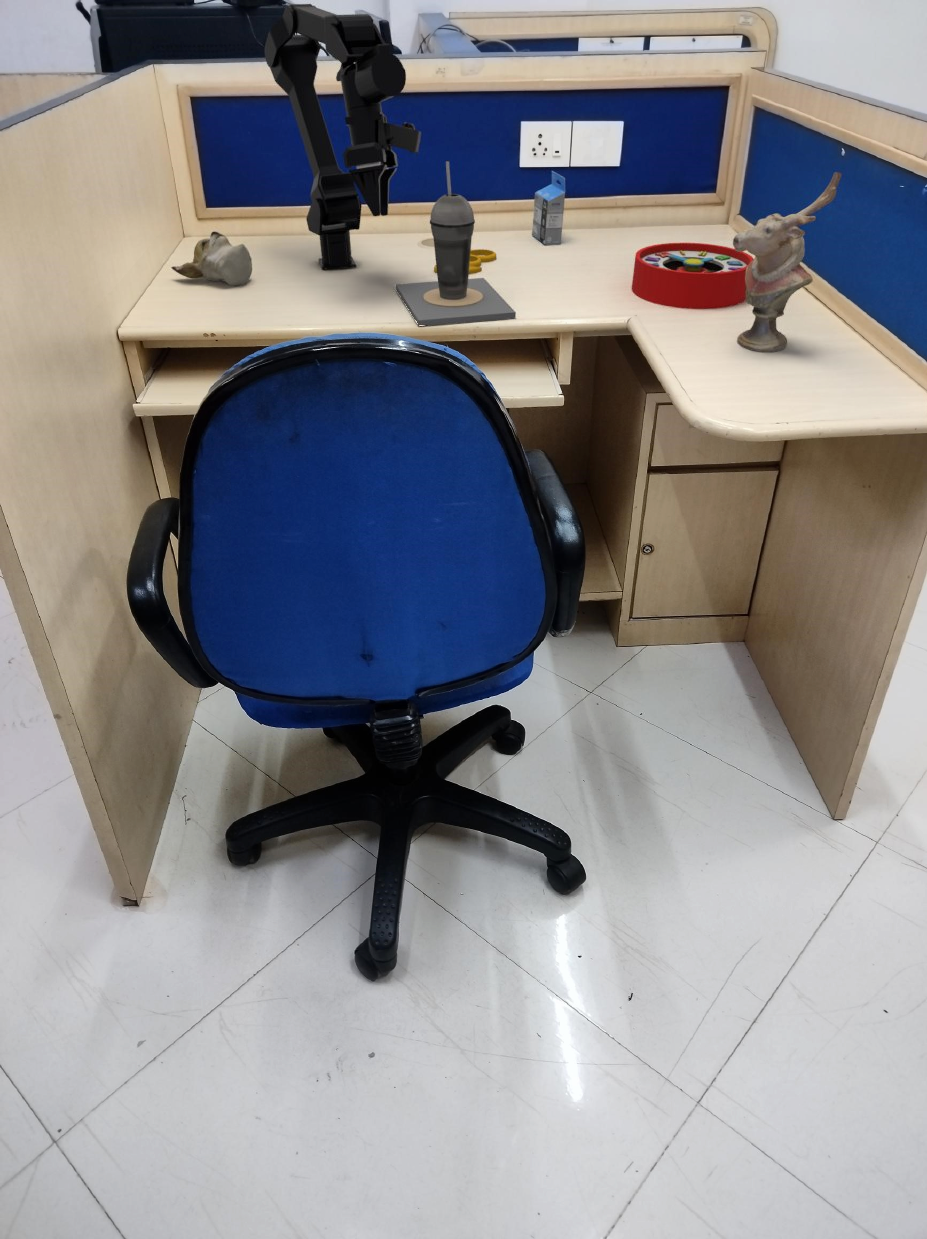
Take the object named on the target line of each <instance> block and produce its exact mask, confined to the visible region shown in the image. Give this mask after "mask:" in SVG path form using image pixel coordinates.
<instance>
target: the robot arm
mask: <svg viewBox="0 0 927 1239" xmlns="http://www.w3.org/2000/svg"><path fill="white" fill-rule="evenodd" d="M320 43H321V44H324V45H325V51H326V53H328V55H330V56H331V57H332V58H333V59H335V60H337V61H338V62H340V63H341V64H340V66H339V67H340V68H339V70H338V71H337V72H336V76H335V77H336V78H335V79H336V81H337V82H340V84H341V88H342V89H341V90H342V96H343V101H344V107H345V113H346V116H345V117H344V119H345V120H344V121H345V125H346V126H348V130H349V137H350V143H351V145H348V146H347V147H346V148H345V150H344V151H343V153H342V157H343V162H344V163H343V164H344V167H345V168H346V169H348V170H347V172H344V171H343V170H342V169H340V166H339V164H338V161H337V158H336V155H335V150H334V148H333V144H332V141H331V137H330V134H329V130H328V128H327V124H326V121H325V117H324V115H323V111H322V107H321V105H320V101H319V97H318V94H317V92H316V91H317V90H316V88H315V80H316V75H317V72H318V62H317V59H318V57H319V54H320V51H321V45H320ZM264 58H265V61H266V65H267V66H268V67H269V69H270V71H271V74H272V77H273V79H274V82H275V84H277V85H278V86H279V87H280V88H281V89H282V91H284V92H285V93H286V95H287V96H288V98H289V100H290V103H291V107H292V109H293V113H294V116H295V120H296V123H297V126H298V130H299V134H300V136H301V140H302V142H303V143H302V144H303V146H304V150H305V153H306V157H307V159H308V163H309V166H310V170H311V172H312V175H313V176H312V177H313V183H312V186H311V191H310V200H311V204H310V207H309V209H308V211H307V212H308V213H307V215H306V223H307V227H308V228H307V229H308V231H309V232H311V233H313V234H315V235H318V236H319V245H320V253H321V254H320V256H321V257H319V258H318V263H319V266H320V267H321V270H331V269H332V270H335V269H337V270H338V269H349V268H351V269H352V268H357V263H356V262H355V260H354V258H353V256H352V246H351V245H352V244H351V243H352V242H351V235H350V234H351V232H350V231H354V230H355V231H357V230H360V226H361V216H362V203H361V202H362V201H361V198H360V196H359V193H360V195H361V196H362V198H363V200H364V202H365V204H366V205H367V207H368V209H369V211H370V212H371V214H372V217H379V216H382V217H384V216H388V215H389V199H390V198H389V194H390V181H391V179H392V177H394V174H396V171H397V170H398V168H397V167H398V166H399V164H398V157H397V154H396V153H395V151H394V150H393V149H392V147H394V148H398V149H401V150H402V149H403V150H406V151H408V152H410V153H412V154H419V148H420V143H421V136H422V132H421V131H420V130H418V129H416V127H415V124H413V123H408V122H407V121H405V122H403V124H402V125H398V124H394V123H393V124H392V123H390V122H388V120H387V116H386V115H385V114H384V113H383V110H382V109H383V108H382V102H384V101H387V100H388V99H391V98H393V97H396V96H398V95H399V94H401V93H402V91H403V90H404V88H405V85H406V80H407V73H406V69H405V67H404V65H403V63H402V61H401V60H400V58H399V57H397V55H396V54H394V53H392V52H391V46H390V44H389V43H386V41H385V40H384V38H383V36H382V34H381V32H380V30H379V28H378V26H377V24H376V23H375V22H374V19H373V17H372V16H371V15H370V14H368V13H361V14H360V13H359V14H358V13H357V14H356V13H355V14H353V13H352V14H337V13H334V12H331V11H327V10H324V9H321V8H318V7H316V6H315V5H313V4H311V3H295V4H289V5H287V6H285V8H284V10H283V13H282V17H281V18H280V19H279V20H278V21H277V22H276V23H275V24H274V25H272V26H271V28H270V29H269V30H268V34H267V38H266V42H265V45H264ZM352 167H356V168H354V169H350V168H352ZM345 168H344V169H345ZM357 189H358V191H359V193H358V191H357Z"/></svg>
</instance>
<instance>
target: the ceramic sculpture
mask: <svg viewBox="0 0 927 1239" xmlns="http://www.w3.org/2000/svg"><path fill="white" fill-rule="evenodd" d="M171 269H172V270H173V271H174V272H175V273H178V274H179V275H181V276H183V277H185V278H188V279H199V278H204V279H206V280H209V281H213V282H226V283H227V284H228V285H229V286H236V287H237V286H242V285H244V284H245V283H246V282H248V280H250V278H251V276H252V273H253V262H252V257H251V254H250V252H249V250H248V248H247V247H246V246H245V244H244V243H240V244H238V245H234V246H233V245H232V244H231V242H230V241H229V238H228V237H227V236H226V235H224V234H222V233H220V232H218V231H211V233H210V236H209V237H206V238H203V239H200V240H198V241H197V243H196V244H195V246H194V250H193V259H192V261H191V262H186V263H183V264H182V265H179V266H177V265H176V266H171Z"/></svg>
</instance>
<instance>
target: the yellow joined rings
mask: <svg viewBox="0 0 927 1239" xmlns="http://www.w3.org/2000/svg"><path fill="white" fill-rule="evenodd" d="M496 260H497V253H496V252H495V251H493V250H490V249H471V252H470V264H469V275H474V274H477V273H481V272H482V267H481V266H482V263H490V262H494V261H496ZM433 271H434V273H435V274H436V273H437V267H436V264H435V265H434V267H433Z"/></svg>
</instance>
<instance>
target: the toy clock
mask: <svg viewBox="0 0 927 1239" xmlns="http://www.w3.org/2000/svg"><path fill="white" fill-rule="evenodd" d="M634 256H635V257H634V265H633V274H632V283H631V291H632V293H633V294H634V296H636V297H638V298H640V299H641V300H644V301H646V302H650V303H652V304H655V305H660V306H663V307H670V308H676V309H677V308H678V309H679V308H680V309H686V310H689V309H690V310H711V309H712V310H714V309H715V310H716V309H722V308H723V309H724V308H729V307H733V306H736V305H739V304H742V303H743V302H745V301H746V283H745V282H746V281H745V277H746V269H747V267H748V265H749V264H750V263H751V262H752V261H754V258H753V256H752V255H750V253H749V254H748V253H747V252H745V251H742V252H737V251H736V250H735V248H732V247H728V246H723V245H718V244H711V243H702V242H701V243H700V242H668V243H667V242H666V243H658V244H653V245H648V246H645V247H643V248H641V249H639V250H637V251H636V252H635V255H634Z"/></svg>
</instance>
